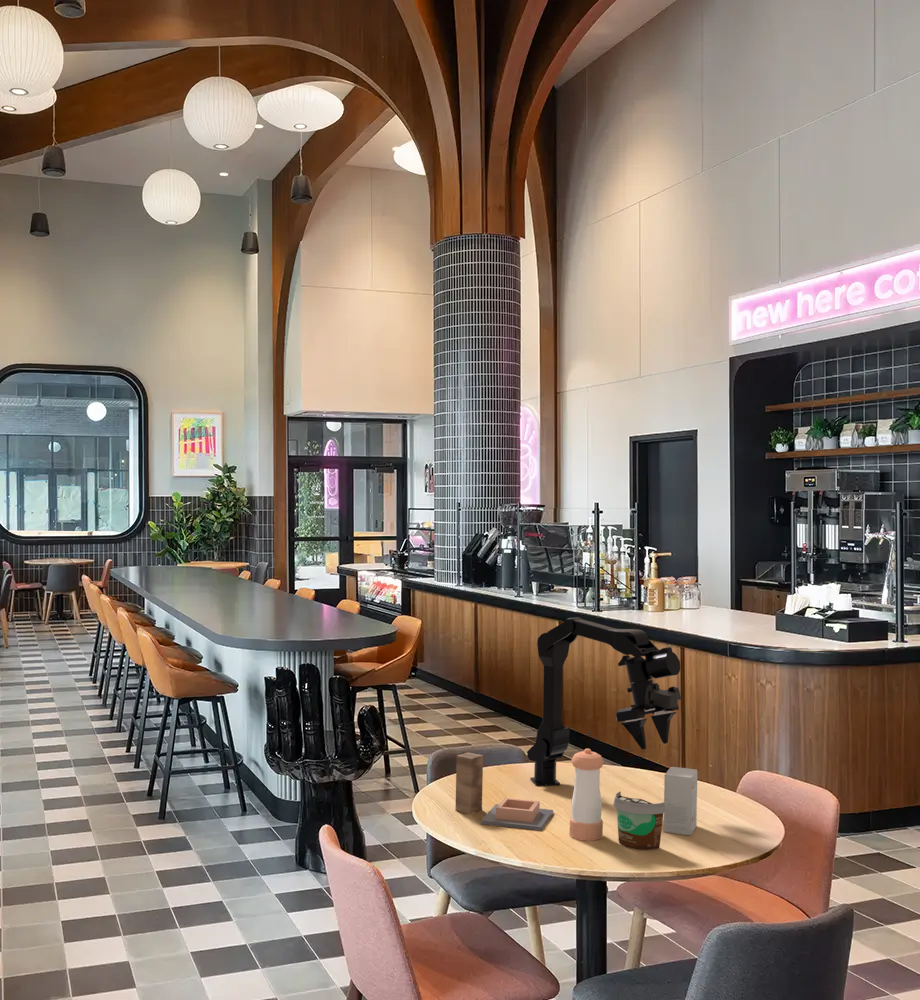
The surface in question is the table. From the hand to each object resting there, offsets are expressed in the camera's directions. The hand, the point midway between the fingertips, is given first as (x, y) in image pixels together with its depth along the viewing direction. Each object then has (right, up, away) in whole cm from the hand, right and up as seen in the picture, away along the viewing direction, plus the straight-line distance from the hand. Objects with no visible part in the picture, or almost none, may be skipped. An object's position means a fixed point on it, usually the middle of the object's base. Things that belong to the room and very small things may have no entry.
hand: (654, 746), depth 252 cm
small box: (+3, -16, -14) cm, 21 cm away
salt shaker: (-19, -15, -20) cm, 32 cm away
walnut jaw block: (-45, -15, -3) cm, 47 cm away
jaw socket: (-33, -15, -9) cm, 38 cm away
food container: (-10, -15, -27) cm, 32 cm away
